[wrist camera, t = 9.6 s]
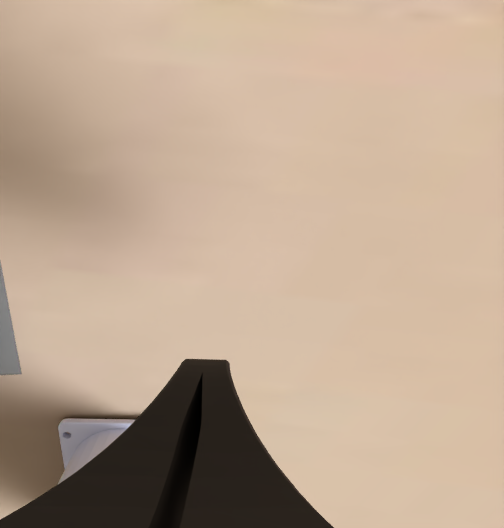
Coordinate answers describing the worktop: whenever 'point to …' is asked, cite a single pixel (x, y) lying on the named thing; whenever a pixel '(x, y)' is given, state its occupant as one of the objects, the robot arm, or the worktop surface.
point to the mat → (7, 336)
